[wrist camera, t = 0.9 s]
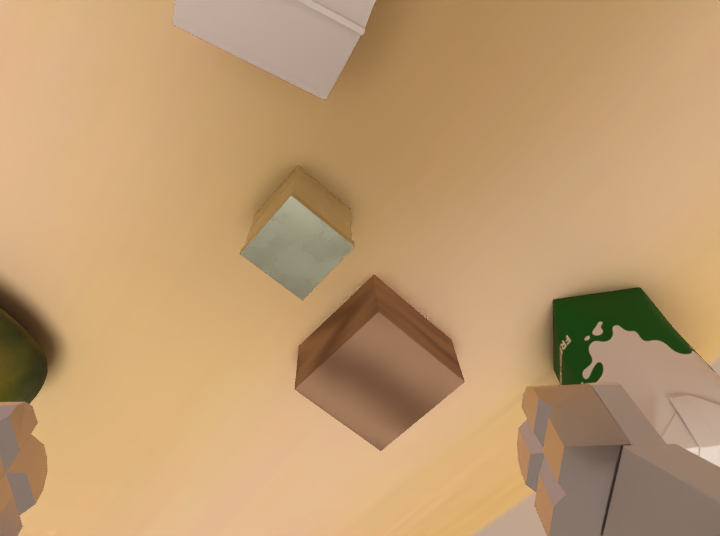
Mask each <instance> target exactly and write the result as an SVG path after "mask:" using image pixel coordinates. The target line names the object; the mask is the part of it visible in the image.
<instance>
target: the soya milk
mask: <svg viewBox="0 0 720 536" xmlns="http://www.w3.org/2000/svg"><path fill="white" fill-rule="evenodd" d="M553 326H554V371H555V373H556V375H557V378H558V380H559V382H560V385H574V384H585V383H596V382H612V381H615V382H617V383H619V384H620V385H621V386H622V387H623V388H624V390H625V391H626V392H627V393H628V395H629V396H630V397H631V399H632V400H633V401H634V403H635V404H636V405H637V406H638V408H639V409H640V410H641V412H642V413H643V414H644V416H645V417H646V418H647V419H648V421H649V422H650V423H651V425H652V426H653V427H654V429H655V430H656V431H657V432H658V434H659V435H660V436H661V438H662V439H663V440H664V442H665V443H666V444H677V445H679V446H681V447H683V448H684V449H686V450H688V451H690V452H692V453H694V454H696V455H698V456H700V457H701V458H703V459H705V460H707V461H709V462H711V463H713V464H715V465H717V466H718V467H720V376H719V375H718V374H717V373H716V372H715V371H714V370H713V369H712V368H711V367H710V366H709V365H708V364H707V363H706V362H705V361H704V360H703V359H702V358H701V357H700V355H699V354H698V353H697V352H696V351H695V350H694V349H693V348H692V347H691V346H690V345H689V344H688V343H687V342H686V341H685V340H684V339H683V338H682V337H681V336H680V334H679V333H678V332H677V331H676V330H675V329H674V328H673V327H672V326H671V324H670V323H669V322H668V321H667V320H666V318H665V317H664V316H663V315H662V313H661V312H660V311H659V310H658V308H657V307H656V306H655V305H654V304H653V302H652V301H651V300H650V299H649V297H648V296H647V295H646V294H645V292H644V291H643V290H642V289H641V288H633V289H626V290H620V291H613V292H606V293H599V294H592V295H585V296H578V297H571V298H564V299H557V300H553Z"/></svg>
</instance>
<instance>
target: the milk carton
mask: <svg viewBox="0 0 720 536" xmlns="http://www.w3.org/2000/svg"><path fill="white" fill-rule="evenodd" d="M375 1H376V0H175V7H174V15H173V22H172V23H173V24H174V25H175V26H177V27H178V28H180V29H182V30H184V31H186V32H188V33H190V34H192V35H194V36H196V37H198V38H200V39H202V40H204V41H206V42H208V43H210V44H212V45H214V46H216V47H218V48H220V49H222V50H224V51H226V52H228V53H230V54H232V55H234V56H236V57H238V58H240V59H242V60H244V61H246V62H248V63H250V64H252V65H254V66H256V67H258V68H261V69H263V70H265V71H267V72H269V73H271V74H273V75H275V76H277V77H279V78H281V79H283V80H285V81H287V82H289V83H291V84H293V85H295V86H297V87H299V88H301V89H303V90H305V91H307V92H309V93H311V94H313V95H315V96H317V97H320V98H322V99H325V100H326V99H327V97H328V95H329V93H330V91H331V90H332V88H333V86H334V84H335V82H336V80H337V79H338V77H339V75H340V73H341V71H342V69H343V68H344V66H345V64H346V62H347V60H348V58H349V57H350V55H351V53H352V51H353V49H354V48H355V46H356V44H357V42H358V40H359V38H360V37H361V35H364V33H365V31H366V30H365V26H366V24H367V21H368V19H369V16H370V14H371V11H372V9H373V6H374V4H375Z"/></svg>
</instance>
